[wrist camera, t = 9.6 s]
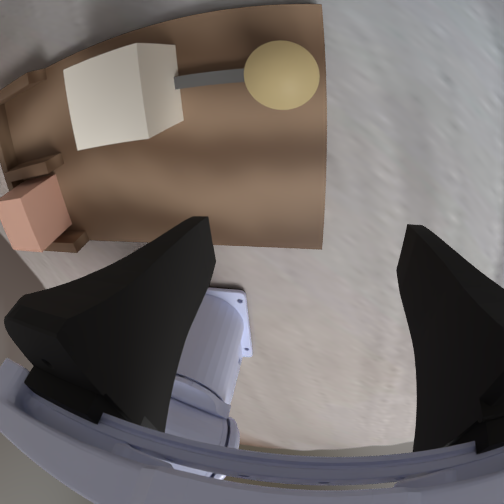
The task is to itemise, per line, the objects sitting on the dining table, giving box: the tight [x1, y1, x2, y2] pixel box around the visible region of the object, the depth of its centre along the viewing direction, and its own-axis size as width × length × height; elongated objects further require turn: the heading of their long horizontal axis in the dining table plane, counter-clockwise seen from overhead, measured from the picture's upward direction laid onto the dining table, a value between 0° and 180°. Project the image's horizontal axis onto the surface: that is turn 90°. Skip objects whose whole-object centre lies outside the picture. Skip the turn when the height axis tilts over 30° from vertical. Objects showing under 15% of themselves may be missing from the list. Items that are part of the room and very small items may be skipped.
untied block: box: [0, 174, 72, 252], centre depth 21 cm, size 5×5×4 cm
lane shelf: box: [0, 4, 327, 253], centre depth 18 cm, size 16×28×3 cm, turn 94°
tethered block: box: [63, 40, 320, 150], centre depth 13 cm, size 5×13×5 cm, turn 94°
